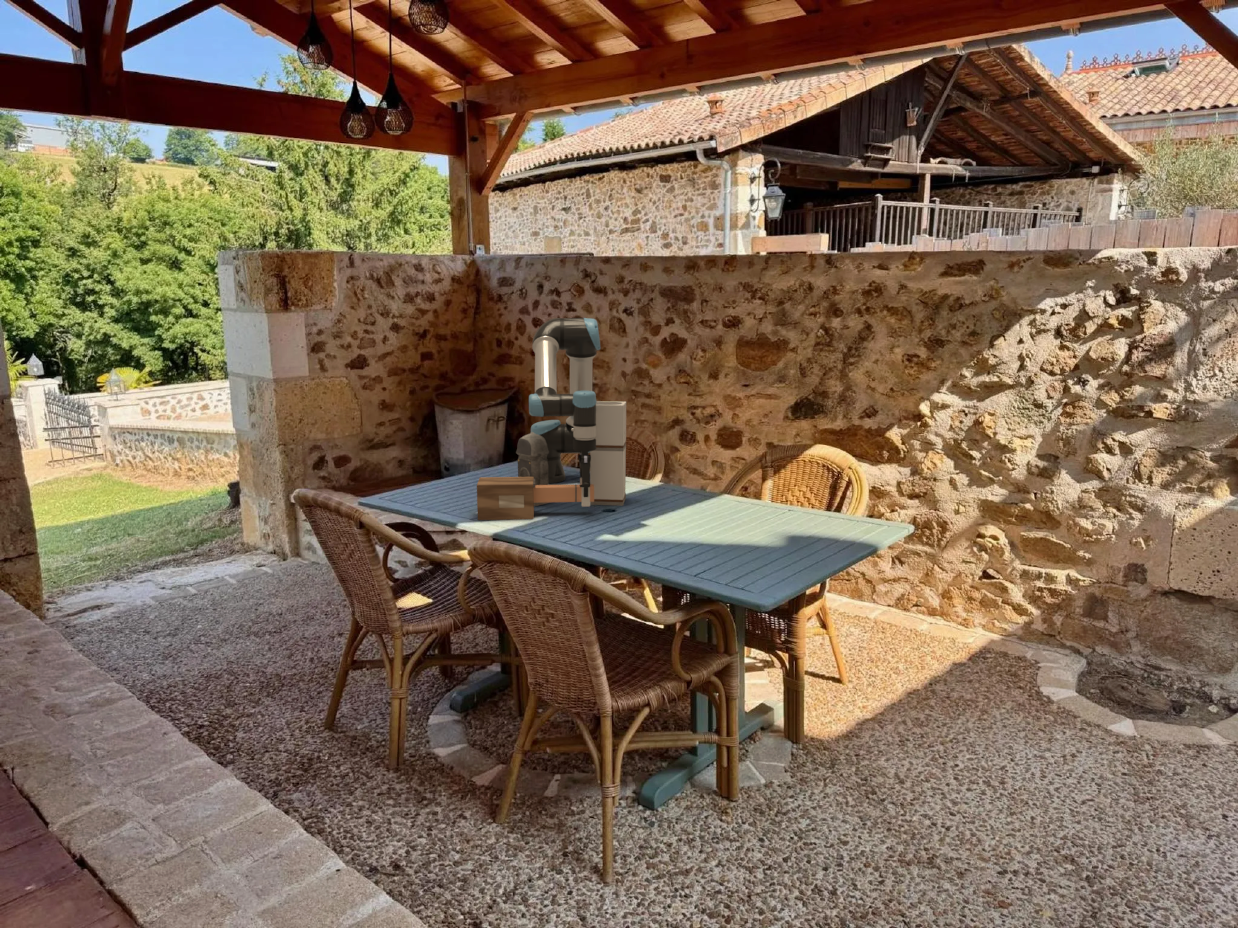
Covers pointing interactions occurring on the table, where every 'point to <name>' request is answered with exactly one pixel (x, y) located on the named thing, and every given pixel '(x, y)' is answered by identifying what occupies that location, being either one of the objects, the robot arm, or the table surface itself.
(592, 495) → the orange banded bar
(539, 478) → the grey backpack
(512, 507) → the box
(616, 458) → the beige square tower
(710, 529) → the table surface
